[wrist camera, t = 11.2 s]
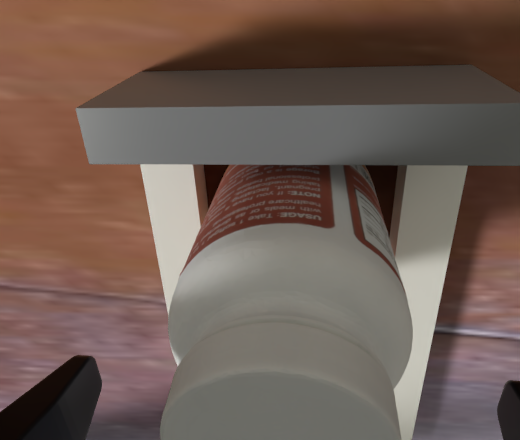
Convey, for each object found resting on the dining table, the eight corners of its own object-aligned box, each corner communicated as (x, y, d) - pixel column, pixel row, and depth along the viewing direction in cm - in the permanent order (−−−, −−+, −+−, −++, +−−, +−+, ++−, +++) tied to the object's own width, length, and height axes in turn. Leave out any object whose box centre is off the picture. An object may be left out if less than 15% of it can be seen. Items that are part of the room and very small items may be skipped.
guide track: (401, 438, 24) (420, 538, 20) (199, 423, 26) (175, 514, 22) (471, 64, 15) (536, 103, 10) (140, 71, 16) (75, 108, 12)
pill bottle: (203, 228, 19) (89, 484, 10) (254, 98, 16) (164, 281, 7) (331, 279, 20) (346, 570, 10) (405, 163, 17) (524, 420, 7)
